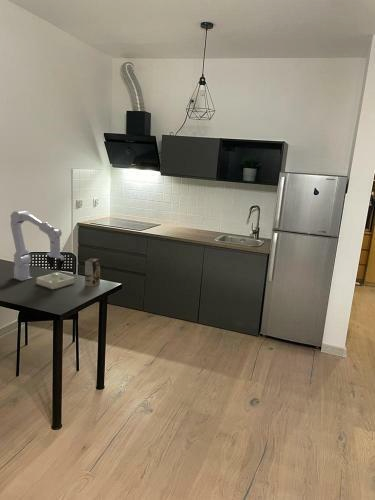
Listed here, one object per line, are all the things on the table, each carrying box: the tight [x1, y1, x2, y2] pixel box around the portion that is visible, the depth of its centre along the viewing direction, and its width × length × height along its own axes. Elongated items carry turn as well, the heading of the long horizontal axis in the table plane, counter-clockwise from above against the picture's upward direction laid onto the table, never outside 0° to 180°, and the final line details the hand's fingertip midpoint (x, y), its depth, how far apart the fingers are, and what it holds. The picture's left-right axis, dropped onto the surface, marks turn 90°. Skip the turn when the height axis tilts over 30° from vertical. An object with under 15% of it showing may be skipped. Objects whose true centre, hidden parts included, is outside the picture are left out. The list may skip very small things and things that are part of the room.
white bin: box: [36, 272, 75, 291], centre depth 230 cm, size 16×16×4 cm
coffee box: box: [84, 257, 101, 288], centre depth 232 cm, size 9×6×16 cm
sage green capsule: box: [50, 272, 60, 283], centre depth 229 cm, size 5×5×6 cm
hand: (55, 269), depth 229 cm, fingers open, 7 cm apart
